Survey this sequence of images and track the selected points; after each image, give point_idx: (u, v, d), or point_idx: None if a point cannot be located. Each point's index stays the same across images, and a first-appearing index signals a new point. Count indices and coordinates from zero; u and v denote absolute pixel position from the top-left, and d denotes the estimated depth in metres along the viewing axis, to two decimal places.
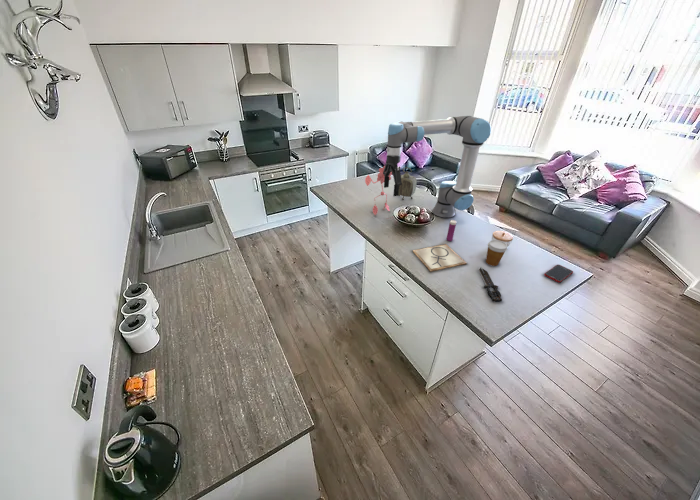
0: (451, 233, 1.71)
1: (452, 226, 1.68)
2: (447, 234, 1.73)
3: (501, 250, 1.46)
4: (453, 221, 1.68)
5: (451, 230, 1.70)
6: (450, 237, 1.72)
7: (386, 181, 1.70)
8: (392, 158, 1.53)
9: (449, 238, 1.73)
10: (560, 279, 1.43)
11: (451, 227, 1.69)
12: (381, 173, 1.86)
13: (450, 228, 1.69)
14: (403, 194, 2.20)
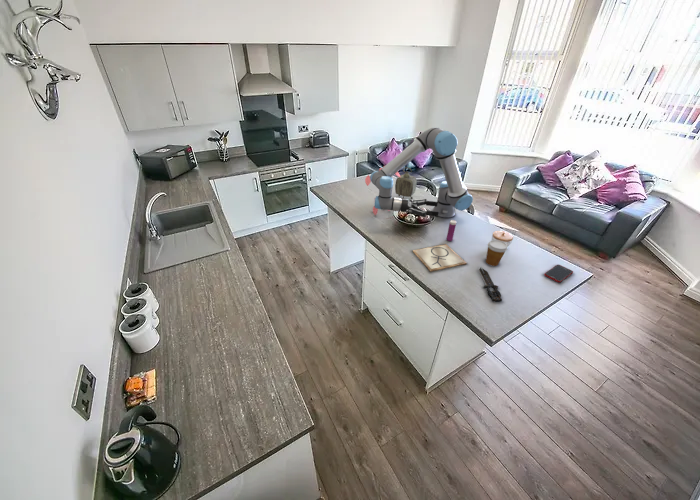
0: (451, 233, 1.71)
1: (452, 226, 1.68)
2: (447, 234, 1.73)
3: (501, 250, 1.46)
4: (453, 221, 1.68)
5: (451, 230, 1.70)
6: (450, 237, 1.72)
7: (430, 204, 1.72)
8: (402, 210, 1.68)
9: (449, 238, 1.73)
10: (560, 279, 1.43)
11: (451, 227, 1.69)
12: None
13: (450, 228, 1.69)
14: (403, 194, 2.20)
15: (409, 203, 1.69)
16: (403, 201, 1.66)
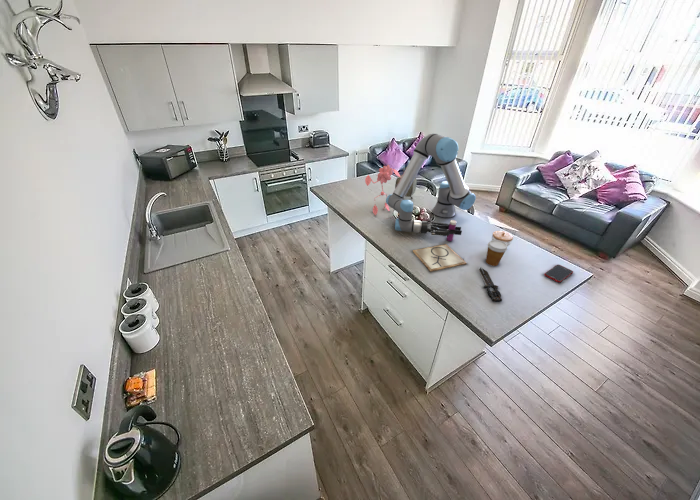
0: None
1: (452, 226, 1.68)
2: None
3: (501, 250, 1.46)
4: (453, 221, 1.68)
5: None
6: (450, 237, 1.72)
7: None
8: (421, 232, 1.73)
9: (449, 238, 1.73)
10: (560, 279, 1.43)
11: (451, 227, 1.69)
12: (381, 173, 1.86)
13: (450, 228, 1.69)
14: None
15: (427, 224, 1.75)
16: (423, 223, 1.71)
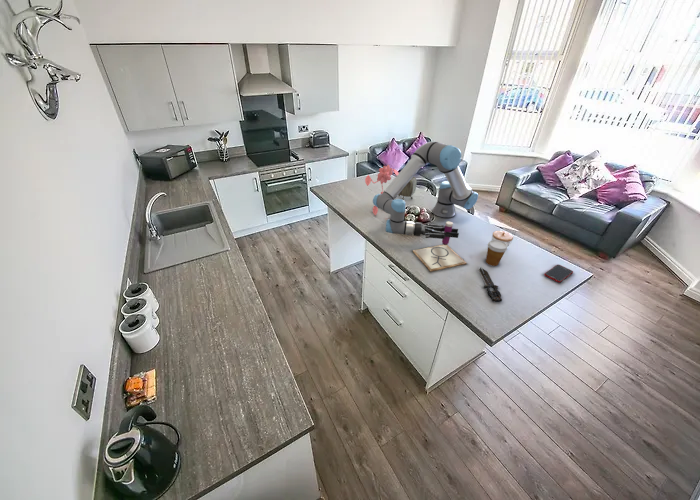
0: None
1: (448, 228, 1.53)
2: None
3: (501, 250, 1.46)
4: (449, 222, 1.53)
5: None
6: (446, 240, 1.57)
7: None
8: (415, 234, 1.58)
9: (445, 241, 1.58)
10: (560, 279, 1.43)
11: (447, 229, 1.54)
12: (381, 173, 1.86)
13: (446, 230, 1.54)
14: (403, 194, 2.20)
15: (421, 226, 1.60)
16: (416, 225, 1.56)
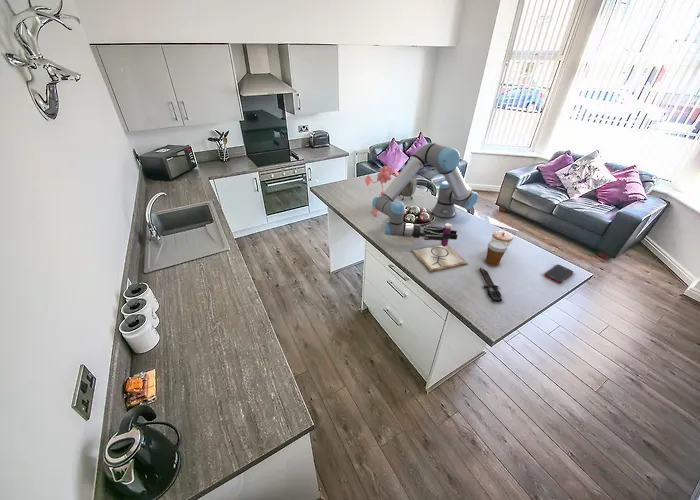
0: None
1: (447, 230, 1.54)
2: None
3: (501, 250, 1.46)
4: (448, 224, 1.54)
5: None
6: (445, 242, 1.58)
7: None
8: (414, 236, 1.59)
9: (444, 243, 1.59)
10: (560, 279, 1.43)
11: (446, 231, 1.54)
12: (381, 173, 1.86)
13: (445, 232, 1.55)
14: (403, 194, 2.20)
15: None
16: (415, 227, 1.57)
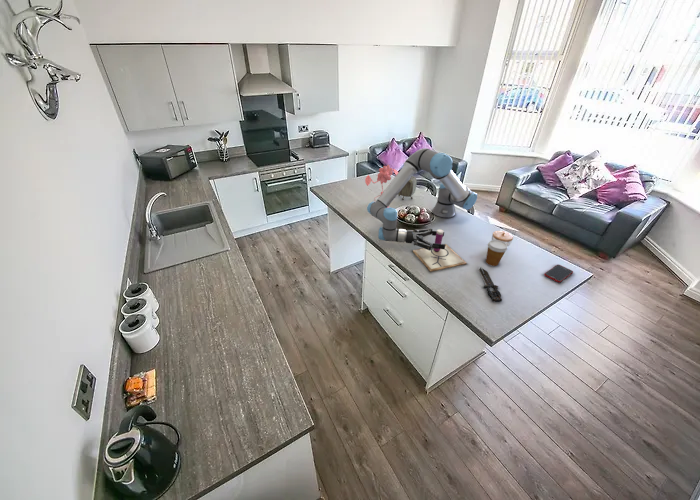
0: (438, 243, 1.60)
1: (439, 236, 1.57)
2: None
3: (501, 250, 1.46)
4: (440, 230, 1.57)
5: (438, 240, 1.59)
6: None
7: None
8: (407, 242, 1.62)
9: None
10: (560, 279, 1.43)
11: (438, 237, 1.58)
12: (381, 173, 1.86)
13: (437, 238, 1.59)
14: (403, 194, 2.20)
15: (414, 234, 1.63)
16: (408, 233, 1.60)
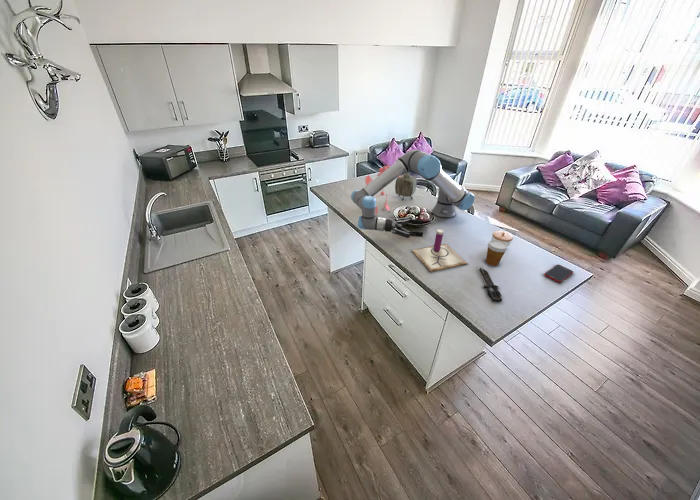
0: (438, 243, 1.60)
1: (439, 236, 1.57)
2: (434, 244, 1.62)
3: (501, 250, 1.46)
4: (440, 230, 1.57)
5: (438, 240, 1.59)
6: (437, 247, 1.61)
7: (416, 222, 1.67)
8: (386, 230, 1.63)
9: (436, 248, 1.62)
10: (560, 279, 1.43)
11: (438, 237, 1.58)
12: (381, 173, 1.86)
13: (437, 238, 1.59)
14: (403, 194, 2.20)
15: (393, 222, 1.64)
16: (387, 221, 1.61)
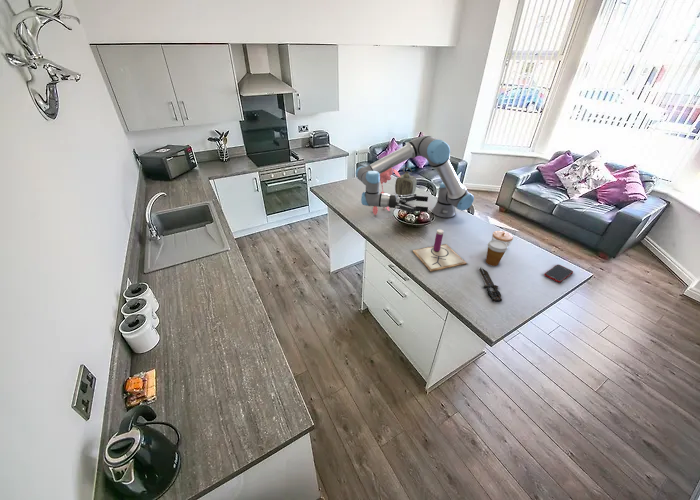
0: (438, 243, 1.60)
1: (439, 236, 1.57)
2: (434, 244, 1.62)
3: (501, 250, 1.46)
4: (440, 230, 1.57)
5: (438, 240, 1.59)
6: (437, 247, 1.61)
7: (420, 199, 1.64)
8: (390, 206, 1.60)
9: (436, 248, 1.62)
10: (560, 279, 1.43)
11: (438, 237, 1.58)
12: (381, 173, 1.86)
13: (437, 238, 1.59)
14: (403, 194, 2.20)
15: (398, 199, 1.61)
16: (391, 197, 1.58)
